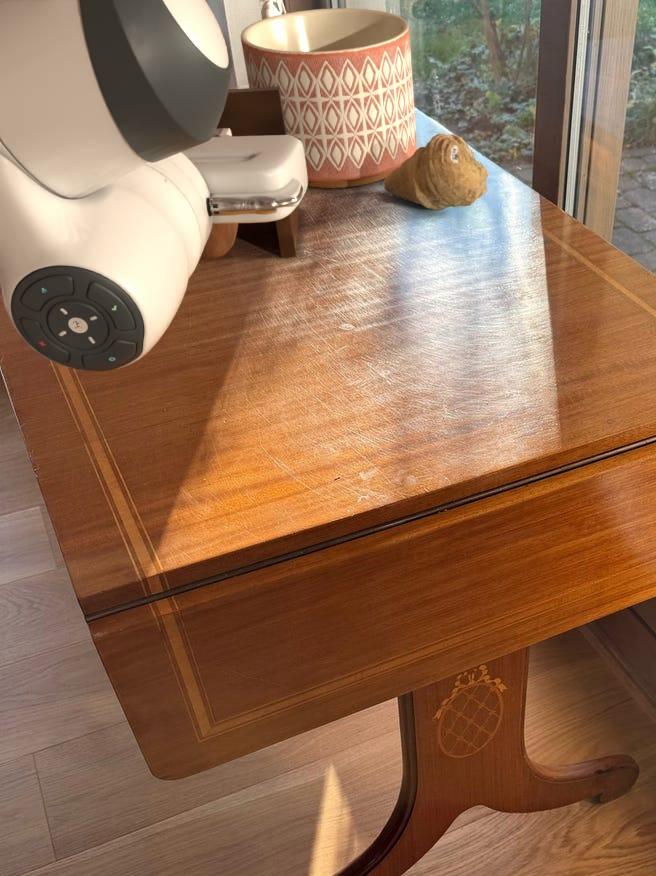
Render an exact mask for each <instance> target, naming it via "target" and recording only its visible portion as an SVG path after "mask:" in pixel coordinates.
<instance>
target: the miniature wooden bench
mask: <svg viewBox="0 0 656 876" xmlns="http://www.w3.org/2000/svg"><path fill="white" fill-rule="evenodd" d="M219 128H230V130H231V134H232V136H269V135H287V132H286V125H285V119H284V112H283V106H282V99H281V93H280V87H279V86H278V87H262V88H249V87H248V88H247V87H245V88H232V89H230V88H229V91H228V95H227V99H226V103H225V106H224V110H223V113H222V115H221V118H220V121H219V123H218V126H217V128H216V129H219ZM299 212H300V211H299V204H298V205H297V207H296V208H295V209H294V210H293V211H292V212H291V213H290V214H289V215H288V216H286V217H285V218H282V219H280V220H276V221H274V223H275V228H276V229H275V230H276V233H277V234H276V235H277V239H278V240H277V241H278V246H279V253H280V257H281V258H292V257H297V251H298V234H299V232H298V230H299Z"/></svg>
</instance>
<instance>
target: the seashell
mask: <svg viewBox="0 0 656 876" xmlns="http://www.w3.org/2000/svg"><path fill="white" fill-rule="evenodd" d="M488 177H489V171H488V170H487V168H486V167H485V166H484V164H483V163H481V162H480V161H478V160H477V159H476V157H475V154H474V152H473V150H471V148H470V146H469V143H468V142H466V141H465V140H464V139H463V137H462V136H459V135H457V134H454V133H450V134H449V133H448V134H446V133H440V132H439V133H437V134H436V135H433V136H432V137H431V138H430V139H429V141H428V142H427V143H426V145H425V146H420V147H419V148H417V150H416V151H415V152H414V154H413V155H412V156H411V157H410V158H408V159H407V160H405V161H404V162H403V163H402V165H401V166H400V167H398V168H396V169H395V170H394V171H393V172H392V173H390V174H389V175H388V177H387V178H384V186H383V187H384V190H385V191H387V192H388V193H390V194H392V195H394V196H395V197H398V198H402V199H403V200H405V201H410V202H413V203H415V204H417V205H421V206H423V207H424V208H426V209H430V210H434V211H441V210H444V209H446V208H449V207H453V208H456V207H470V206H471V205H473V203H474V202H476V201H477V200H479V199H480V198H482V197H483V196H484V195H485V194H486V193H487V192H488V186H487V184H486V183H487V179H488Z"/></svg>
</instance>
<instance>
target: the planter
mask: <svg viewBox="0 0 656 876" xmlns="http://www.w3.org/2000/svg"><path fill="white" fill-rule="evenodd" d="M410 35H411V33H410V25H409V23H408V21H407V20H406V19H405V18H403V17H402V16H399V15H397V14H394V13H391V12H386V11H383V10H377V9H376V10H375V9H368V8H367V9H366V8H351V7H347V8H346V7H342V8H341V7H339V8H338V7H337V8H335V7H334V8H333V7H332V8H317V9H306V10H298V11H293V12H286V14H284V13H281V15H277V16H273V17H269V18H266V19H263V20H262V19H261V20H258V21H255V22H253V23H251V24H249V25H248V26H246V27H245V28H244V29H243V30H242V31H241V33H240V42H241V47H242V54H243V59H244V65H245V70H246V77H247V82H248V88H262V87H278V86H279V87H280V93H281V99H282V106H283V112H284V119H285V125H286V132H287V135H290V136H293V137H295V138H297V139H299V140H300V141H301V142H302V144H303V148H304V154H305V160H306V168H307V177H308V186H307V187H312V188H321V189H340V188H341V189H342V188H352V187H357V186H364V185H368V184H373V183H375V182H378V181H382V180H385V179H386V178H387V177H388V175H389V174H390V173H392V172H393V171H394V170H395V169H396V168H398V167H400V166H401V165H402V163H403V162H404V161H405V160H407V159H408V158H410V157H411V156H412V155H413V154H414V152H415V151H416V150H417V149H418V140H417V125H416V124H417V123H416V110H415V96H414V95H415V94H414V80H413V79H414V78H413V66H412V50H411V49H412V48H411V36H410Z"/></svg>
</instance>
